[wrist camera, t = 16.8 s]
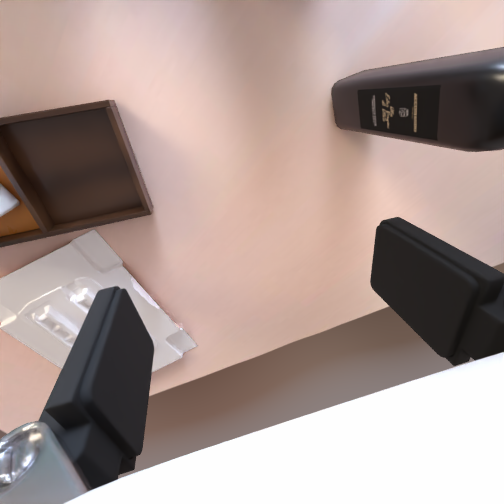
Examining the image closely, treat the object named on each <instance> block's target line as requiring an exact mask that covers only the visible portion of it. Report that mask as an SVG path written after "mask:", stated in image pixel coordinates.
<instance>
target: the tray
mask: <svg viewBox="0 0 504 504" xmlns="http://www.w3.org/2000/svg"><path fill="white" fill-rule="evenodd" d="M122 264H123V261H122V260H121V258H120V257H119V256H118V255H117V254H116V253H115V252H114V250H113V249H112V248H111V247H110V246H109V245H108V244H107V243H106V242H105V240H104V239H103V238H102V237H101V236H100V235H99V234H98V233H97V232H96V230H91V231H89V232H88V233H86V234H84V235H81V236H80V237H78V238H76V239H74V240H72V242H71V243H69V244H68V245H66V246H64V247H62V248H60V249H57V250H55V251H54V252H52V253H50V254H48V255H46V256H44V257H42V258H40V259H38V260H36V261H34V262H32V263H30V264H28V265H26V266H24V267H22V268H20V269H18V270H16V271H14V272H12V273H11V274H8V275H6V276H4V277H2V278H1V279H0V321H1V323H2V324H1V325H0V329H2V330H3V331H5V332H6V333H8V334H9V335H11V336H12V337H14V338H15V339H17V340H18V341H20V342H21V343H23V344H24V345H26V346H27V347H29V348H30V349H32V350H33V351H35V352H36V353H38V354H39V355H41V356H42V357H44V358H45V359H47V360H48V361H50V362H52V363H53V364H54V365H56V366H57V367H59V368H60V369H62V368H63V366H64V364H65V362H66V359H67V357H68V355H69V353H70V351H71V348H72V346H73V344H74V342H75V340H76V338H77V336H78V333H79V331H80V329H81V327H82V325H83V322H84V320H85V318H86V316H87V314H88V311H89V309H90V307H91V305H92V303H93V300H94V298H95V296H96V294H97V292H98V290H101V289H105V288H109V287H113V286H119V287H120V289H123V288H124V289H126V290H127V292H128V294H129V296H130V298H131V300H132V301H133V303H134V305H135V307H136V309H137V311H138V313H139V315H140V317H141V319H142V321H143V323H144V325H145V327H146V329H147V331H148V333H149V335H150V337H151V338H152V341H153V344H154V357H153V365H152V372H154V371H156V370H158V369H160V368H162V367H164V366H166V365H168V364H170V363H172V362H175V361H176V360H179V359H180V358H182V356H183V353H184V352H186V351H188V350H190V349H192V348H195V347H197V346H198V345H197V344H196V343H195V342H194V341H193V340H192V338H191V337H190V336H189V335H188V334H187V333H186V332H185V331H184V329H183V328H180V329H179V328H178V327H177V326H176V325H175V323H174V322H173V321H172V320H171V319H170V318H169V317H168V316H167V315H166V313H165V312H164V311H163V310H162V309H161V308H160V307H159V306H158V304H157V303H156V302H155V301H154V300H153V299H152V298H151V297H150V296H149V294H148V293H147V292H146V291H145V290H144V289H143V288H142V287H141V286H140V284H139V283H138V282H137V281H136V280H135V279H134V278H133V277H132V276H131V275H130V274H129V272H128V271H127V270H126V269H125V268H124V267H123V265H122Z"/></svg>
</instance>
